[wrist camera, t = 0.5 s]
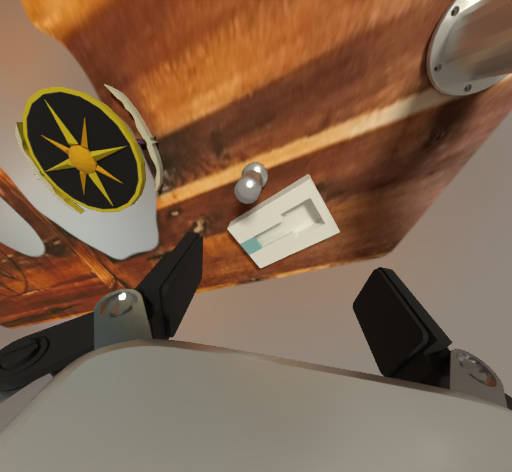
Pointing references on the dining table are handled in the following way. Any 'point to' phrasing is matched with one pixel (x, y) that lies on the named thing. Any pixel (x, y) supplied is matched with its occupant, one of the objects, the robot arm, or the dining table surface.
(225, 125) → the dining table surface
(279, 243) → the keyhole plate
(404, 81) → the dining table surface
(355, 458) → the robot arm
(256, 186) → the steel peg
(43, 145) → the wall ornament
